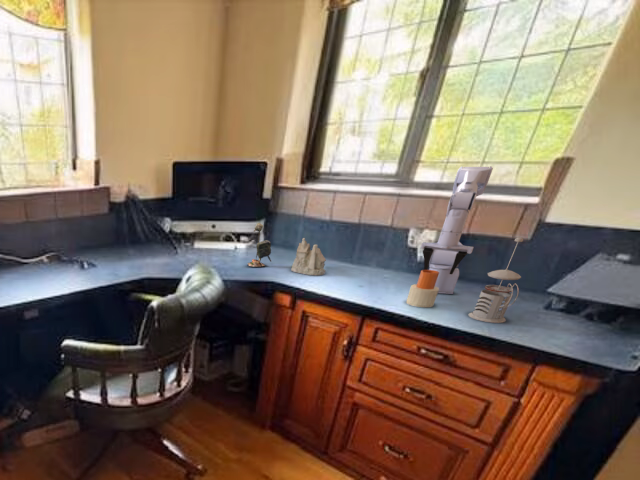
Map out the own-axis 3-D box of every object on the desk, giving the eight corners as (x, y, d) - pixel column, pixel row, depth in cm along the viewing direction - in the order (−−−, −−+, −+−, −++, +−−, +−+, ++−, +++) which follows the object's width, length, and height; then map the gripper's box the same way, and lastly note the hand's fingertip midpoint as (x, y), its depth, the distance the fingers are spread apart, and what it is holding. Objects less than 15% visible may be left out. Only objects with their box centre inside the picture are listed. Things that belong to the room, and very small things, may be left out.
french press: (491, 312, 140) (524, 234, 128) (518, 324, 130) (556, 241, 118) (461, 312, 140) (490, 234, 128) (485, 325, 130) (520, 241, 118)
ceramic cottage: (315, 276, 183) (322, 240, 177) (283, 270, 195) (289, 237, 189) (335, 272, 192) (342, 238, 185) (303, 267, 204) (309, 235, 197)
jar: (429, 301, 151) (435, 284, 148) (436, 308, 145) (442, 291, 142) (403, 299, 154) (408, 283, 151) (409, 306, 147) (414, 289, 144)
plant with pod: (269, 268, 198) (275, 223, 188) (245, 267, 202) (250, 223, 192) (271, 264, 204) (277, 221, 195) (247, 263, 208) (252, 220, 199)
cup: (431, 285, 148) (436, 270, 145) (435, 289, 143) (441, 273, 141) (414, 284, 149) (419, 269, 146) (418, 288, 145) (423, 272, 142)
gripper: (423, 230, 142) (411, 270, 149) (476, 234, 134) (461, 277, 140) (428, 228, 147) (416, 267, 153) (479, 232, 138) (464, 273, 144)
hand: (438, 271), depth 147 cm, fingers open, 7 cm apart
